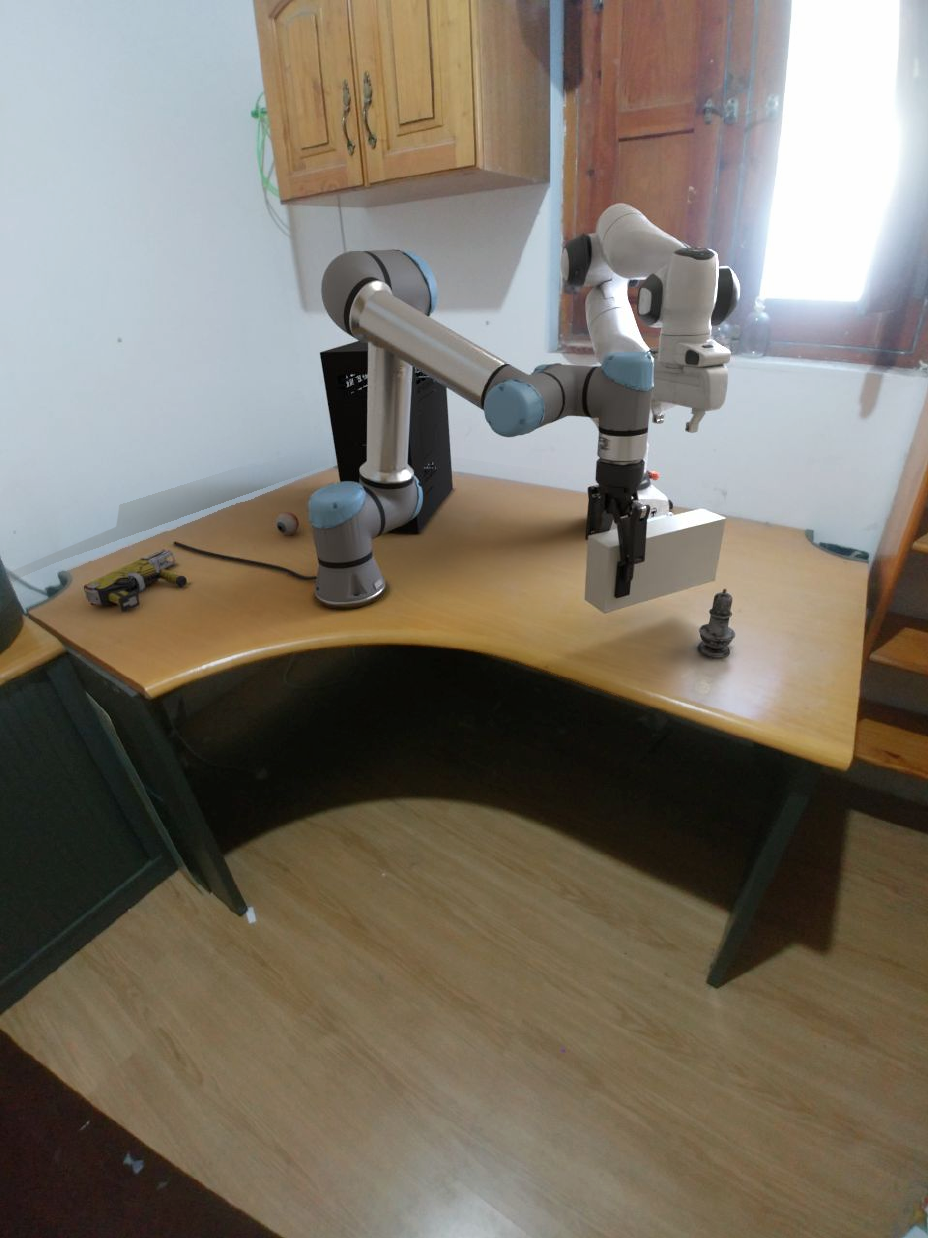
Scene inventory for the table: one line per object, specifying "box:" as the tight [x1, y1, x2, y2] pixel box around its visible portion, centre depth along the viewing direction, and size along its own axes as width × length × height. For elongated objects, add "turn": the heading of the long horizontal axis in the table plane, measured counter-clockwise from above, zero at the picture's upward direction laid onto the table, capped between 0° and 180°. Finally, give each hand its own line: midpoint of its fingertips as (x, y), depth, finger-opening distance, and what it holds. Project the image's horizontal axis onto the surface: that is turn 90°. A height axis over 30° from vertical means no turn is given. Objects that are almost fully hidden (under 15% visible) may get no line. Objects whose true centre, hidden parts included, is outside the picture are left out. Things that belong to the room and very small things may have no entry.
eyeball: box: [275, 511, 300, 536], centre depth 163 cm, size 6×6×6 cm
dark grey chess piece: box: [697, 588, 736, 659], centre depth 103 cm, size 6×6×12 cm
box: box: [583, 508, 727, 614], centre depth 109 cm, size 25×6×12 cm, turn 115°
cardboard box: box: [319, 340, 454, 535], centre depth 167 cm, size 38×20×45 cm, turn 167°
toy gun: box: [83, 548, 188, 613], centre depth 139 cm, size 5×24×15 cm
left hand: (610, 587), depth 107 cm, fingers closed on box, 6 cm apart
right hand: (673, 427), depth 118 cm, fingers open, 8 cm apart
